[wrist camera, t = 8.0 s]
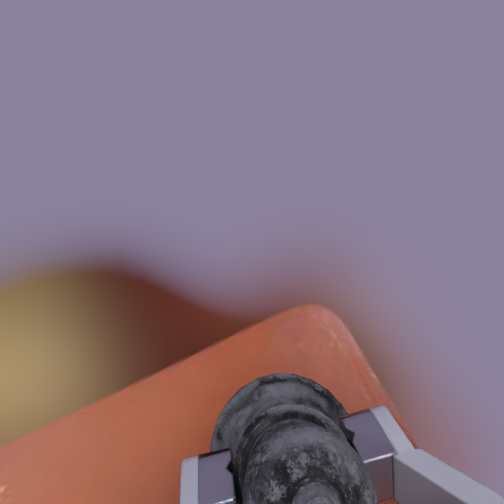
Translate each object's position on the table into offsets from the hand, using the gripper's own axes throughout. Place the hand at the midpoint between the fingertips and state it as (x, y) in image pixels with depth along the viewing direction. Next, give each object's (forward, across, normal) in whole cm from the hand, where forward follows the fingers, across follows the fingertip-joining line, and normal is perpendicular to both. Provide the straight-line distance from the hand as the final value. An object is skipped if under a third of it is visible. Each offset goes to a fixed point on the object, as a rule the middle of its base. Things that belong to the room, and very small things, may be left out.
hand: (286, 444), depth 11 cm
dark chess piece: (+4, 0, +5) cm, 7 cm away
